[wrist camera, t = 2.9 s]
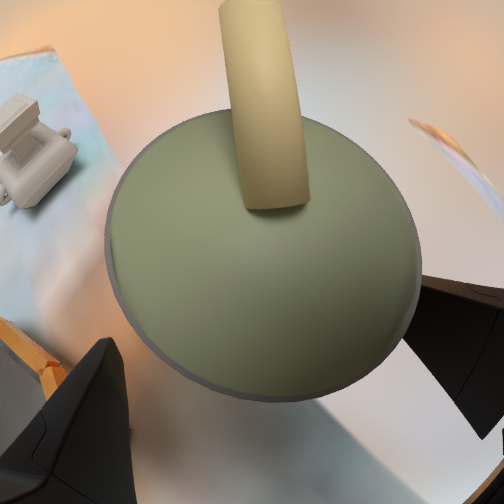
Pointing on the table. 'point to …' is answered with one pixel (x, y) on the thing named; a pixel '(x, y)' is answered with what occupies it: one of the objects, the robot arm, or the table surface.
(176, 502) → the table surface
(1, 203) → the grey blocky piece
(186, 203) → the lidded cup with straw
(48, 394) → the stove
